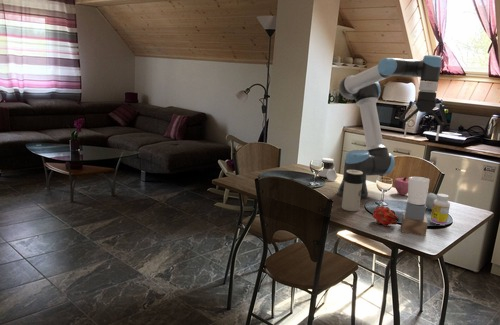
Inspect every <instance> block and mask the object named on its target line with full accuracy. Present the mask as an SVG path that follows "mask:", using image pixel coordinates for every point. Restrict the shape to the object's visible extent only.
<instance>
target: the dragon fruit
mask: <svg viewBox="0 0 500 325" xmlns="http://www.w3.org/2000/svg"><path fill="white" fill-rule="evenodd" d="M372 213H373V214H371V216H372V218H373V219H375V220H376V223H377V225H380V224H381V225H383V226H384V227H387V228H392V226H391V225H397V222H400V218H399V216H398V215H396V212H395V211H394V210H391V208H390V207H388V206H385V205H380V206H379V205H378V206H377V207H376V208H375V209H373V212H372Z"/></svg>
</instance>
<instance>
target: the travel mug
mask: <svg viewBox="0 0 500 325" xmlns="http://www.w3.org/2000/svg"><path fill="white" fill-rule="evenodd" d="M346 172H347V175H346V177H345V182H344V191H343V197H342V200H341V201H342V202H341V208H342V209H343V210H345V211H348V212H358V211H359V210H360V204H361V199H360V198H361V190H362V182H363V179H362V174H363V172H361V171H358V170H347V171H346Z"/></svg>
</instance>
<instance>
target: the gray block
mask: <svg viewBox="0 0 500 325" xmlns="http://www.w3.org/2000/svg"><path fill="white" fill-rule="evenodd" d="M426 209H427V208H426V204H424V205H415V204H411V203H409V202H408V198H407V200H406V206H405V218H408V219H413V220H419V221H424V215H425V213H426ZM425 216H426V215H425Z"/></svg>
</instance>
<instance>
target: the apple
mask: <svg viewBox="0 0 500 325" xmlns="http://www.w3.org/2000/svg"><path fill="white" fill-rule="evenodd" d="M408 180H409V178H407V177H398V178H397V177H396V178H394V181H393V182H394V183H393V185H394V188H395V190H396V192H397V194H399V195H401V196H406V195H407V196H408Z"/></svg>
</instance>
